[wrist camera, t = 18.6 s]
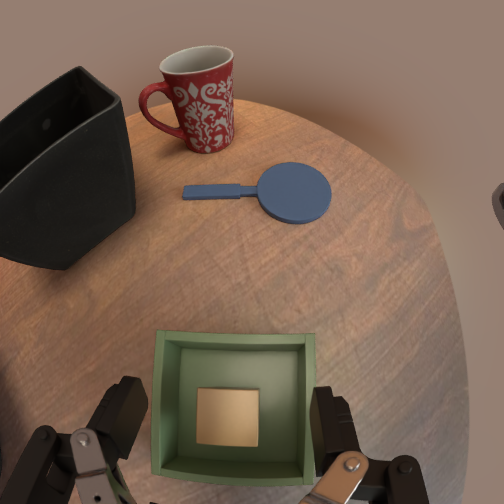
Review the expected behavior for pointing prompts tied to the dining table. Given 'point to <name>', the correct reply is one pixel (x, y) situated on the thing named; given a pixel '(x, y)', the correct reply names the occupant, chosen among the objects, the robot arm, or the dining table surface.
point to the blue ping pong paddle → (277, 192)
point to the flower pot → (64, 172)
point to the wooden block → (228, 416)
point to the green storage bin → (234, 375)
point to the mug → (197, 97)
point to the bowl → (0, 463)
